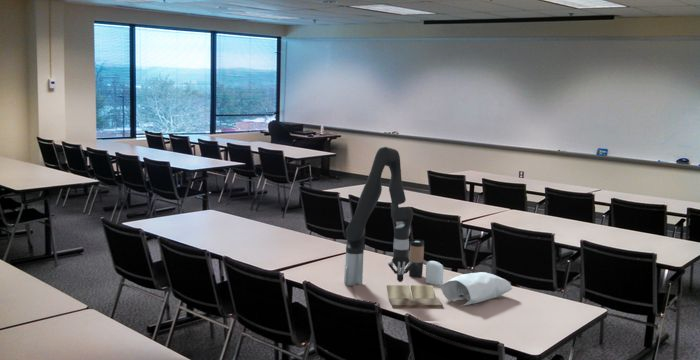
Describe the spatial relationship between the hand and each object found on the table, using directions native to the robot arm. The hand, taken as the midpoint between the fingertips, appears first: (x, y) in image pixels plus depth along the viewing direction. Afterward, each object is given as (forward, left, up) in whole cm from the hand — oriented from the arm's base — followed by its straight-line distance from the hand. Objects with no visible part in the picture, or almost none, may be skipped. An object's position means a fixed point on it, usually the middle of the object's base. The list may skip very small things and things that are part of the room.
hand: (400, 281), depth 314 cm
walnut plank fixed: (+6, -12, -7) cm, 15 cm away
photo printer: (+23, +22, -9) cm, 33 cm away
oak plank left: (-1, -3, -5) cm, 6 cm away
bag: (+38, -2, -9) cm, 39 cm away
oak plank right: (+11, -3, -5) cm, 13 cm away
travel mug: (+16, +36, -9) cm, 40 cm away
